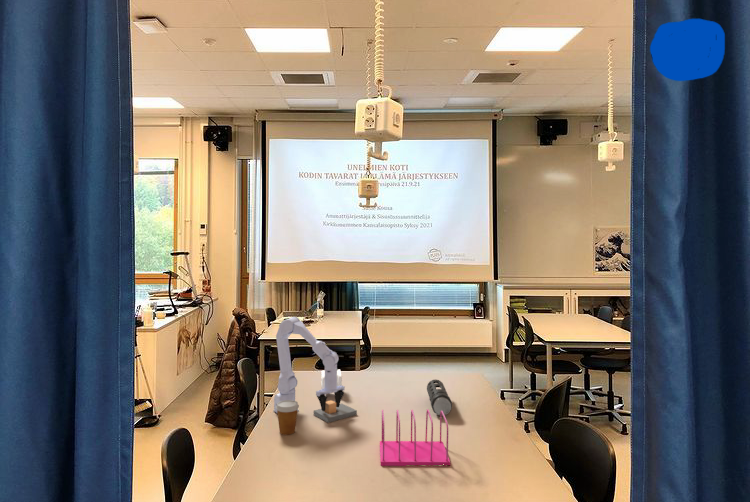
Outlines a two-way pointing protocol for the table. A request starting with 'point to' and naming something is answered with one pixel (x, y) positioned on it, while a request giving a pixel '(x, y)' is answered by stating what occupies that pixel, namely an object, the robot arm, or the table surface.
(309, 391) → the table surface
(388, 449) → the file sorter
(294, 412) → the disposable coffee cup
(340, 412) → the socket plate
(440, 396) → the perforated grey cylinder
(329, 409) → the orange rectangular block
